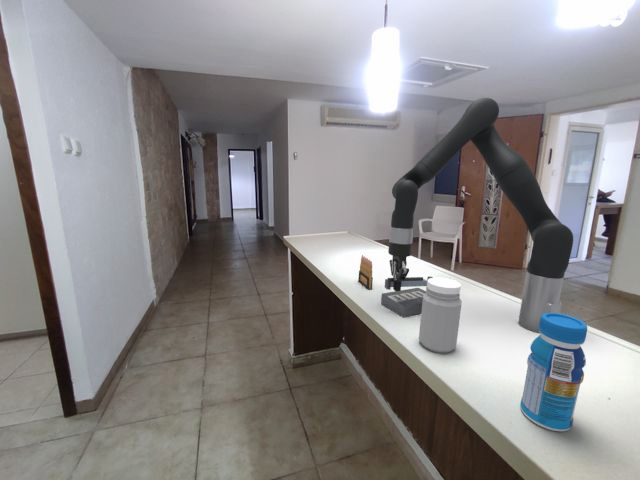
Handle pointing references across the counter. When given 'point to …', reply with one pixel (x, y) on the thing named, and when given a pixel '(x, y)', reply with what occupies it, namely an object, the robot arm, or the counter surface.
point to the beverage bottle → (554, 372)
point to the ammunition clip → (365, 273)
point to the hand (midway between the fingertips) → (396, 290)
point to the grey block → (404, 301)
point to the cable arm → (406, 282)
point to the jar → (440, 315)
